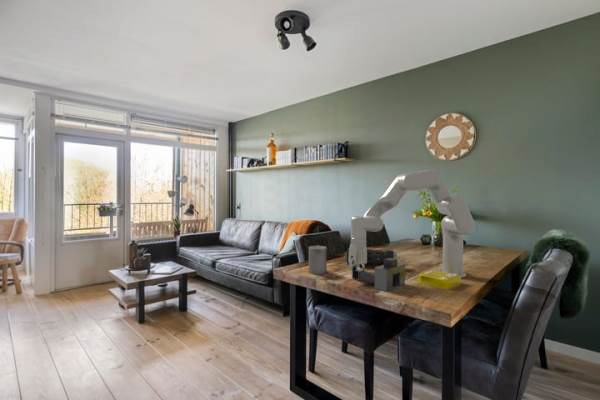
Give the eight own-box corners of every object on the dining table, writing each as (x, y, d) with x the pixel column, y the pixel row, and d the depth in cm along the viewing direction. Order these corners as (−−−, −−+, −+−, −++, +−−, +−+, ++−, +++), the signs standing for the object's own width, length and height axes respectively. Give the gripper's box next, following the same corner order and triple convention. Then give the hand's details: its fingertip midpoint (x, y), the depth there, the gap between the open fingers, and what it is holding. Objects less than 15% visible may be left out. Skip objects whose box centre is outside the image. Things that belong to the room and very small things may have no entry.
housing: (393, 281, 149) (393, 255, 149) (405, 284, 145) (405, 257, 144) (374, 288, 138) (374, 260, 137) (386, 291, 133) (386, 262, 133)
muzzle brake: (348, 263, 189) (348, 246, 188) (396, 266, 180) (396, 249, 180) (346, 266, 179) (346, 249, 179) (396, 270, 171) (396, 252, 171)
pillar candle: (314, 269, 173) (314, 242, 172) (330, 271, 167) (329, 244, 167) (305, 273, 165) (304, 245, 164) (320, 275, 159) (320, 247, 159)
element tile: (431, 277, 158) (431, 268, 157) (462, 284, 146) (462, 274, 146) (417, 283, 147) (417, 273, 147) (449, 290, 136) (449, 280, 136)
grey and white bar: (356, 276, 157) (356, 267, 157) (388, 284, 144) (388, 273, 144) (351, 278, 154) (351, 268, 154) (383, 286, 141) (383, 275, 141)
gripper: (361, 238, 162) (361, 273, 162) (342, 242, 150) (341, 279, 151) (374, 240, 157) (373, 276, 157) (354, 244, 145) (354, 282, 145)
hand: (358, 277), depth 154 cm, fingers closed on grey and white bar, 4 cm apart
